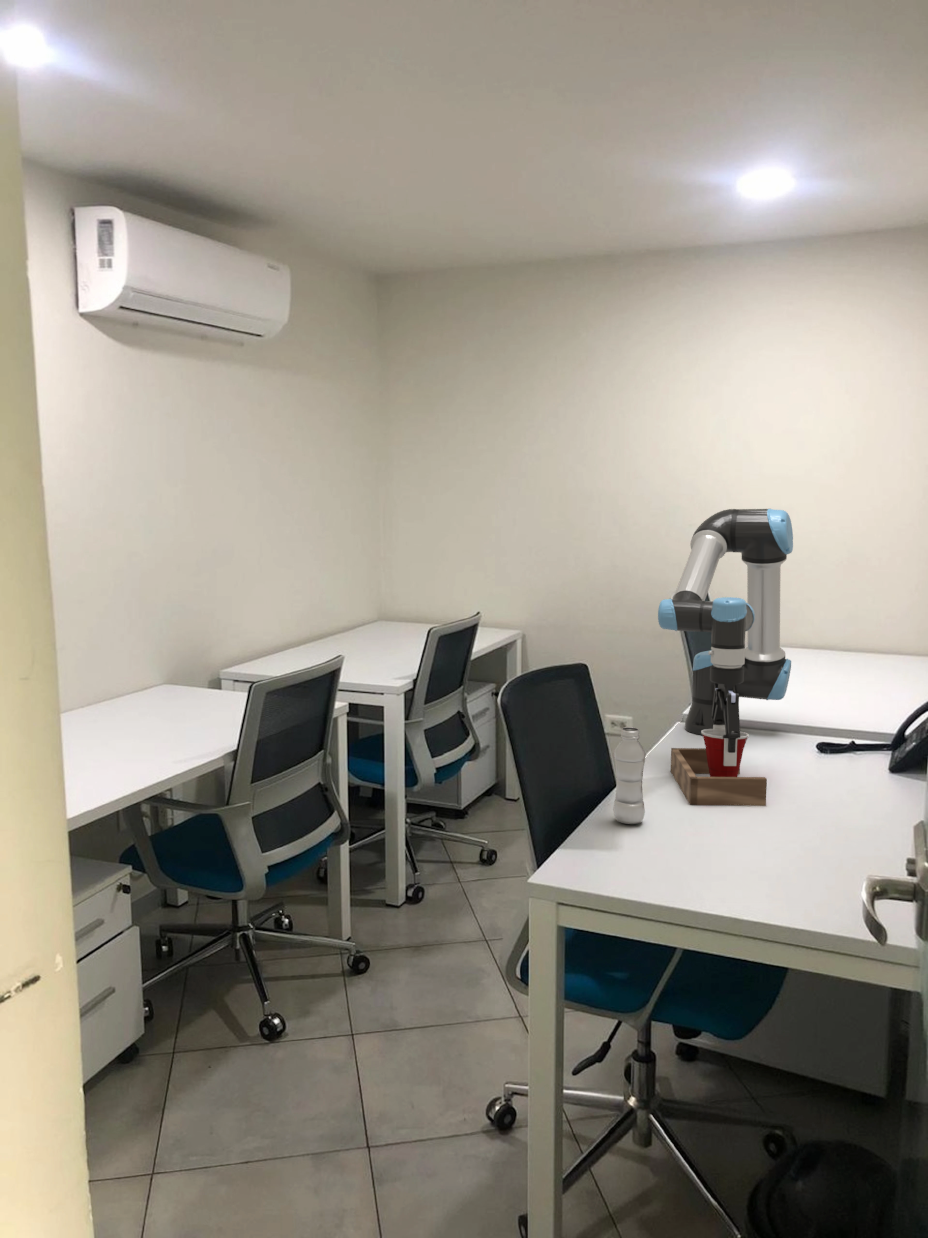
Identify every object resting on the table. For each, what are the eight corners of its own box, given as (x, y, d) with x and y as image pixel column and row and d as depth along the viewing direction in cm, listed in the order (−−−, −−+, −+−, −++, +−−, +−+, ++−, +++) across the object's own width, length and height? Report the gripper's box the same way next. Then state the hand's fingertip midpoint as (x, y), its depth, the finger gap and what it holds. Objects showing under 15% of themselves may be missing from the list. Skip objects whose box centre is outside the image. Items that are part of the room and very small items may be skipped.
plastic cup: (750, 777, 224) (752, 728, 223) (743, 791, 214) (745, 739, 213) (704, 772, 229) (705, 723, 227) (695, 785, 219) (696, 734, 217)
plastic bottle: (626, 830, 195) (627, 734, 192) (606, 820, 201) (608, 727, 198) (651, 824, 198) (653, 731, 195) (631, 815, 204) (633, 724, 201)
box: (670, 771, 235) (671, 748, 234) (738, 772, 234) (738, 748, 233) (690, 805, 210) (690, 778, 209) (765, 805, 209) (766, 779, 208)
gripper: (700, 656, 230) (697, 745, 232) (722, 674, 206) (718, 773, 209) (731, 656, 229) (728, 745, 232) (757, 675, 206) (753, 773, 209)
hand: (724, 758), depth 221 cm, fingers closed on plastic cup, 11 cm apart
